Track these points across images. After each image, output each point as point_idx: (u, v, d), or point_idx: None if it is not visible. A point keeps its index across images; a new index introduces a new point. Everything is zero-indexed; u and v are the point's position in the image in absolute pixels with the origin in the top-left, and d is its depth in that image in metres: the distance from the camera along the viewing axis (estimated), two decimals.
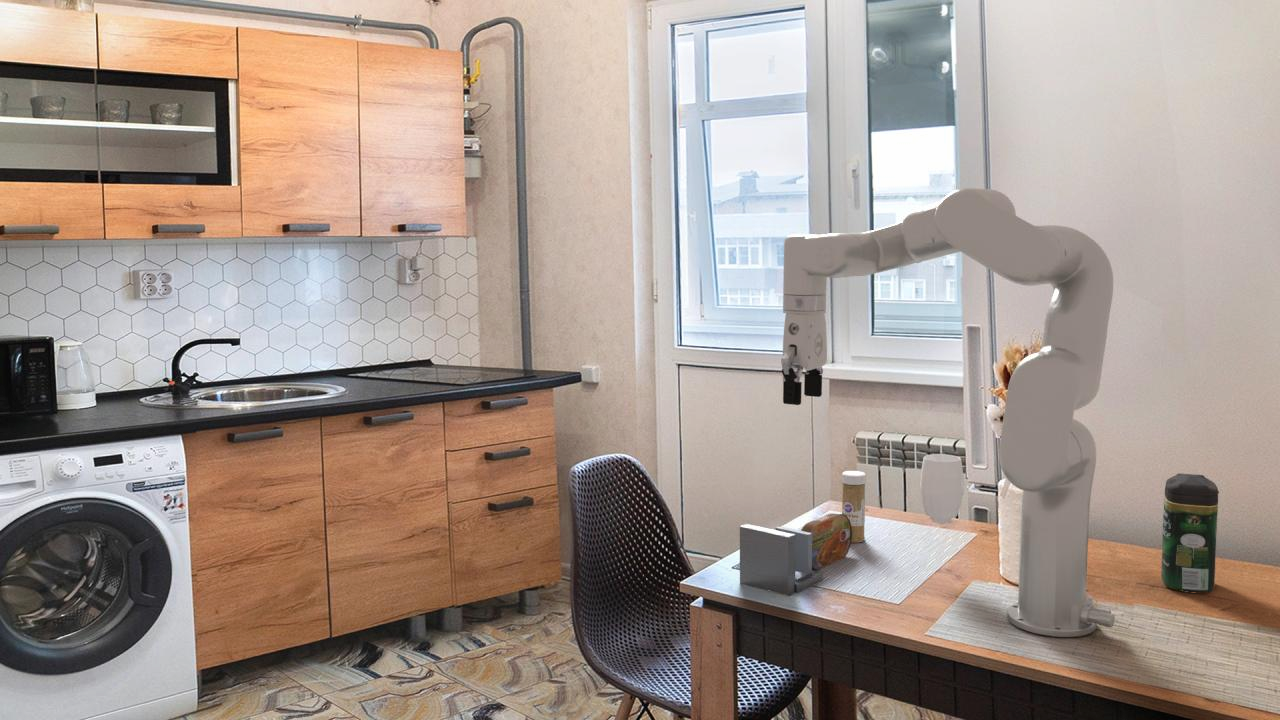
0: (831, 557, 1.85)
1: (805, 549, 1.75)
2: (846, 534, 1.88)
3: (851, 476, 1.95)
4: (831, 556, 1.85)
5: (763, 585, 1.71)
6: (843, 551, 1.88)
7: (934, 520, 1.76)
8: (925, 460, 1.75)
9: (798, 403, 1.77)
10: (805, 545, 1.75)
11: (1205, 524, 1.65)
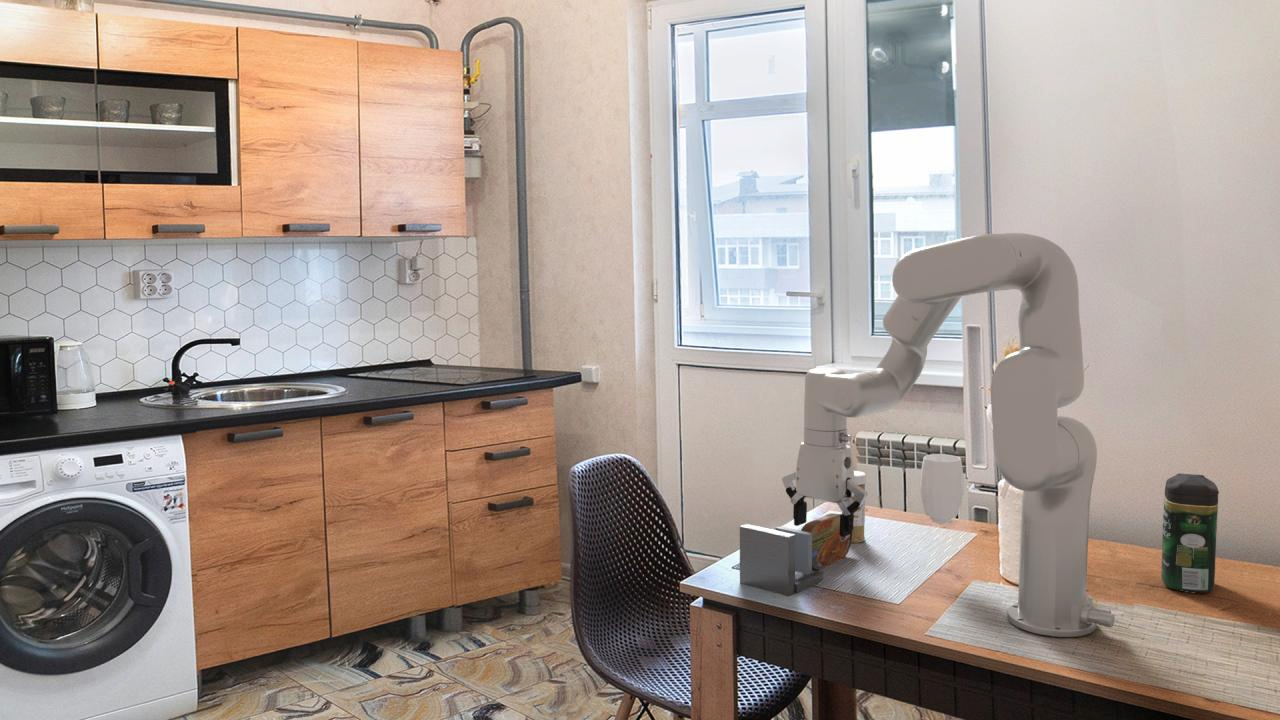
0: (831, 557, 1.85)
1: (805, 549, 1.75)
2: None
3: None
4: (831, 556, 1.85)
5: (763, 585, 1.71)
6: (843, 551, 1.88)
7: (934, 520, 1.76)
8: (925, 460, 1.75)
9: (851, 532, 1.83)
10: (805, 545, 1.75)
11: (1205, 524, 1.65)
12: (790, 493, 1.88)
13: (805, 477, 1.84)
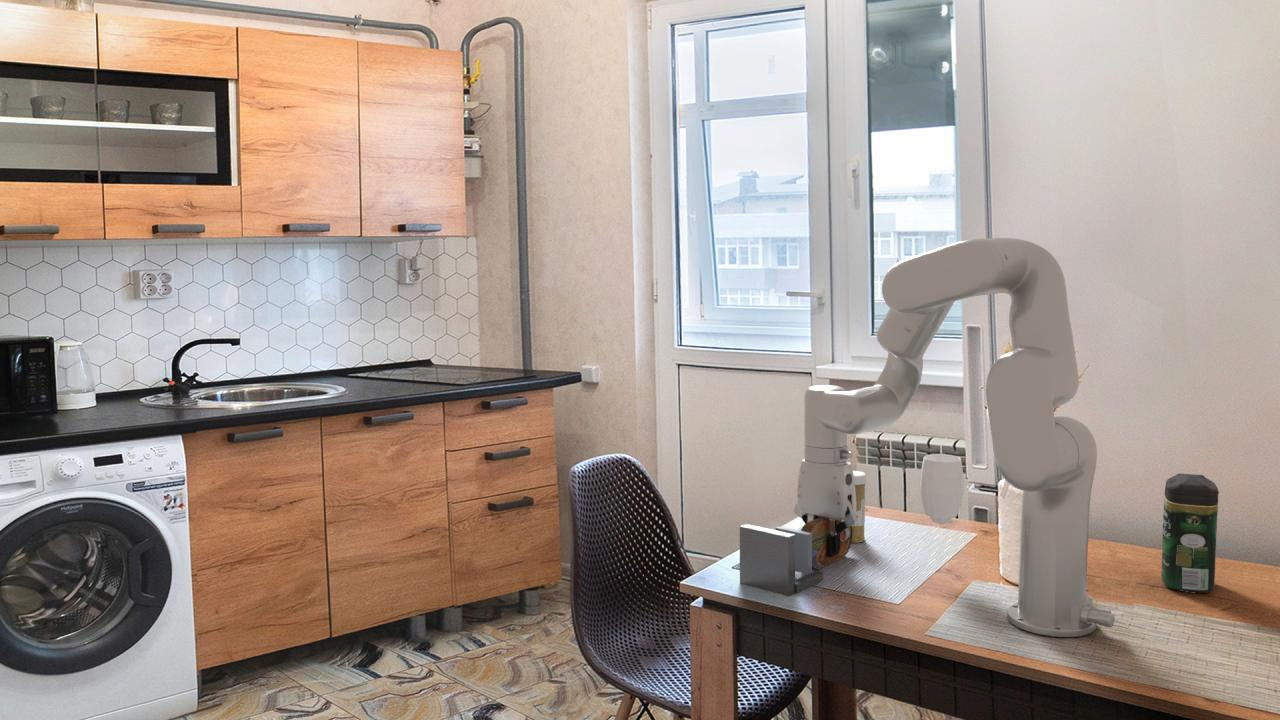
0: (830, 557, 1.85)
1: (805, 549, 1.75)
2: (846, 534, 1.88)
3: None
4: None
5: (763, 585, 1.71)
6: (843, 551, 1.88)
7: (934, 520, 1.76)
8: (925, 460, 1.75)
9: (838, 552, 1.85)
10: (805, 545, 1.75)
11: (1205, 524, 1.65)
12: (806, 520, 1.86)
13: (806, 494, 1.84)
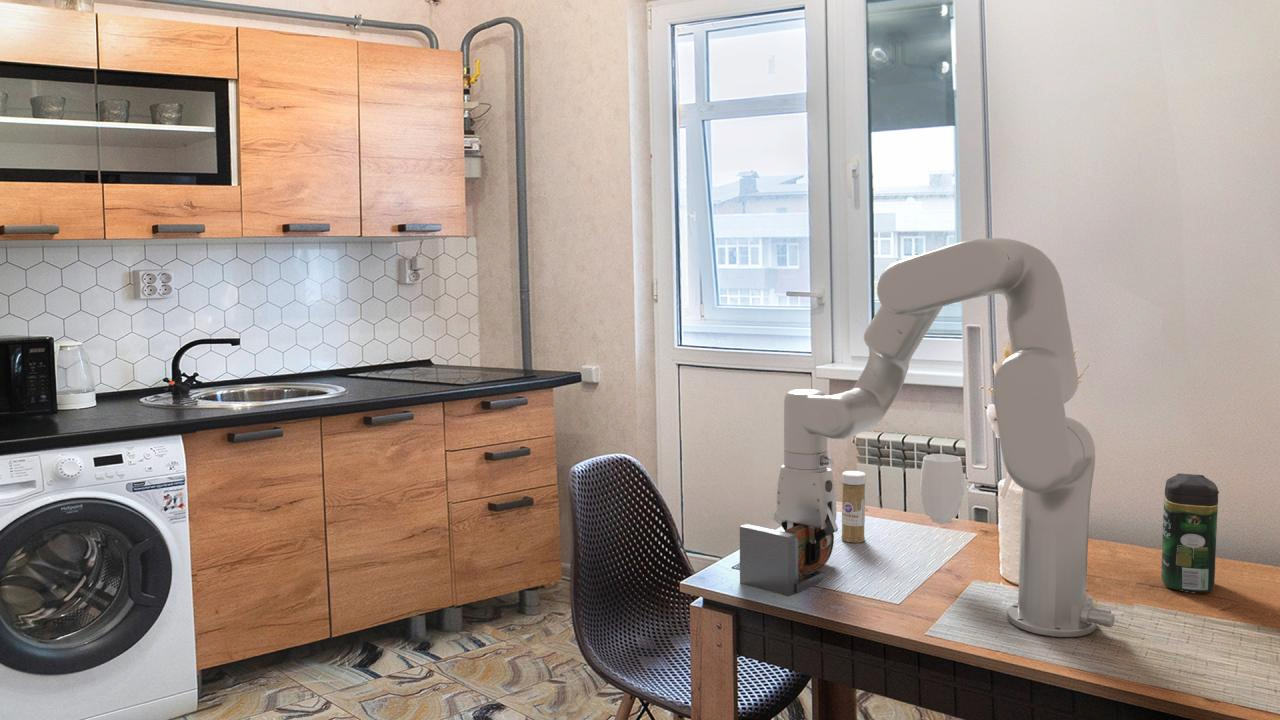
0: None
1: None
2: (827, 541, 1.84)
3: (851, 476, 1.95)
4: None
5: (763, 585, 1.71)
6: (823, 558, 1.84)
7: (934, 520, 1.76)
8: (925, 460, 1.75)
9: (818, 560, 1.80)
10: None
11: (1205, 524, 1.65)
12: (786, 527, 1.82)
13: (785, 500, 1.79)
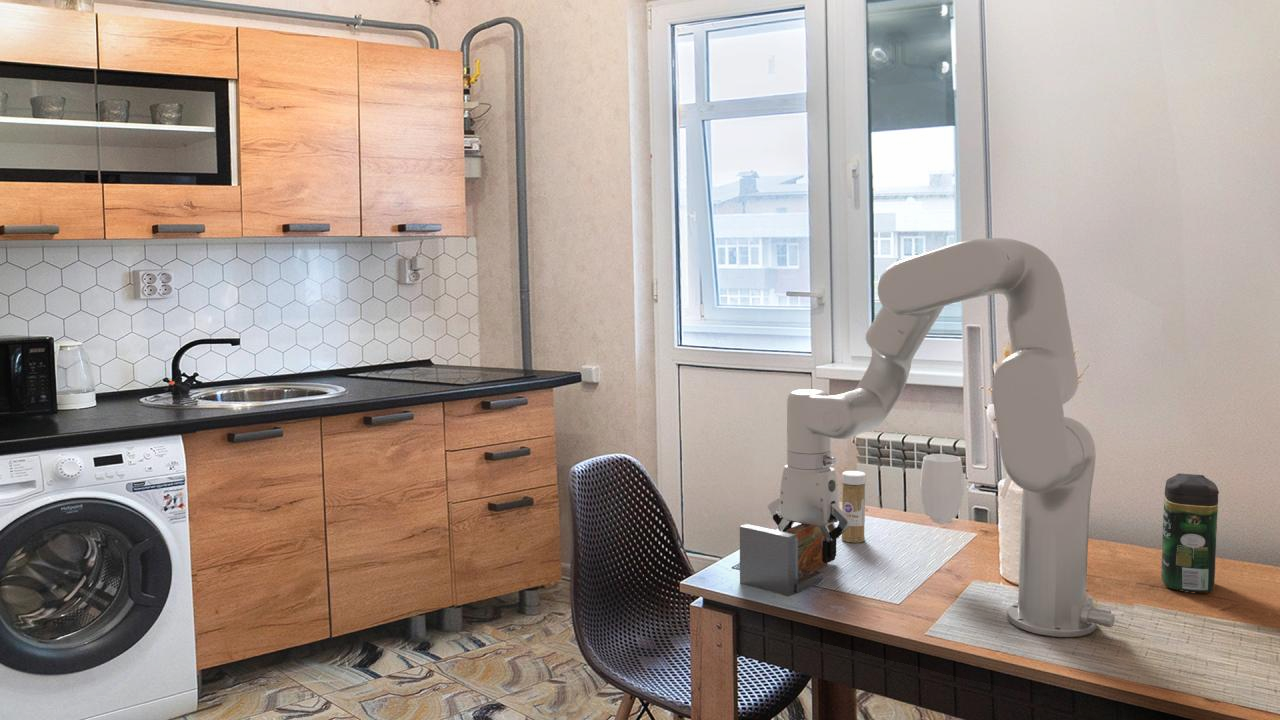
0: (812, 564, 1.81)
1: None
2: None
3: (851, 476, 1.95)
4: (813, 563, 1.81)
5: (763, 585, 1.71)
6: None
7: (934, 520, 1.76)
8: (925, 460, 1.75)
9: (834, 558, 1.79)
10: None
11: (1205, 524, 1.65)
12: (777, 520, 1.84)
13: (789, 500, 1.80)
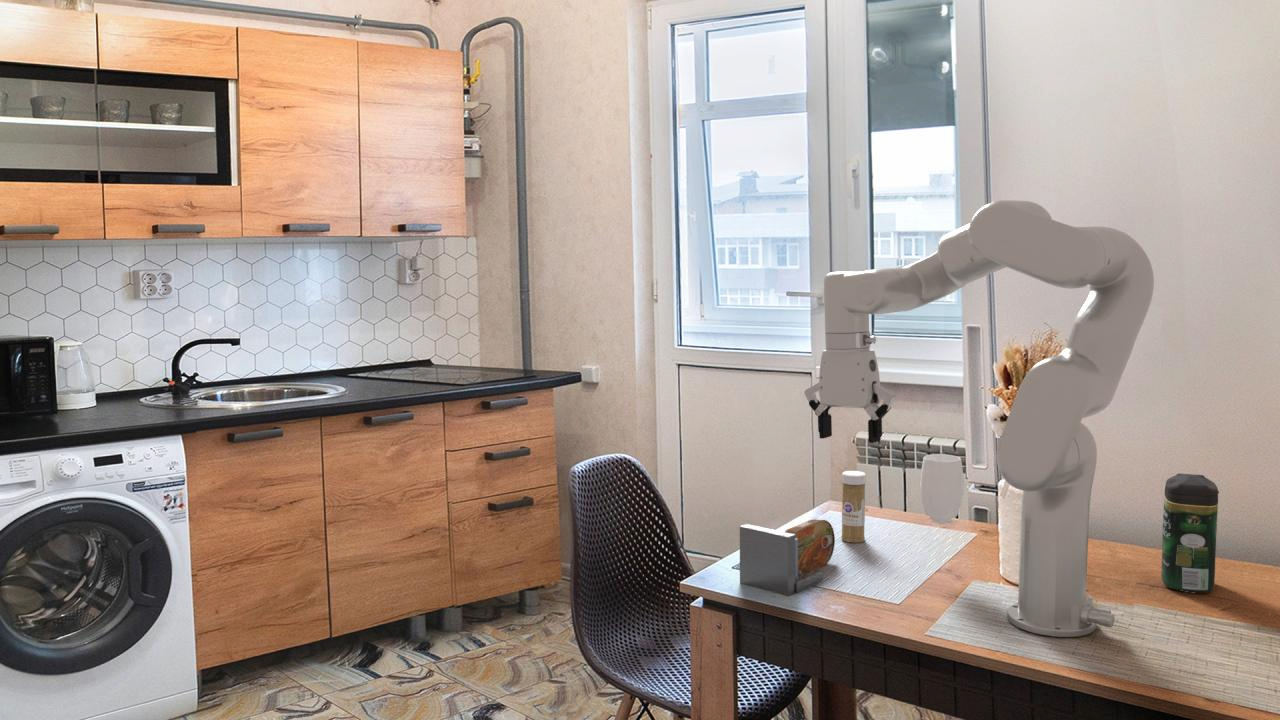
0: (812, 564, 1.81)
1: None
2: (828, 541, 1.85)
3: (851, 476, 1.95)
4: (813, 563, 1.81)
5: (763, 585, 1.71)
6: (825, 558, 1.84)
7: (934, 520, 1.76)
8: (925, 460, 1.75)
9: (879, 439, 1.76)
10: None
11: (1205, 524, 1.65)
12: (814, 405, 1.82)
13: (829, 385, 1.78)
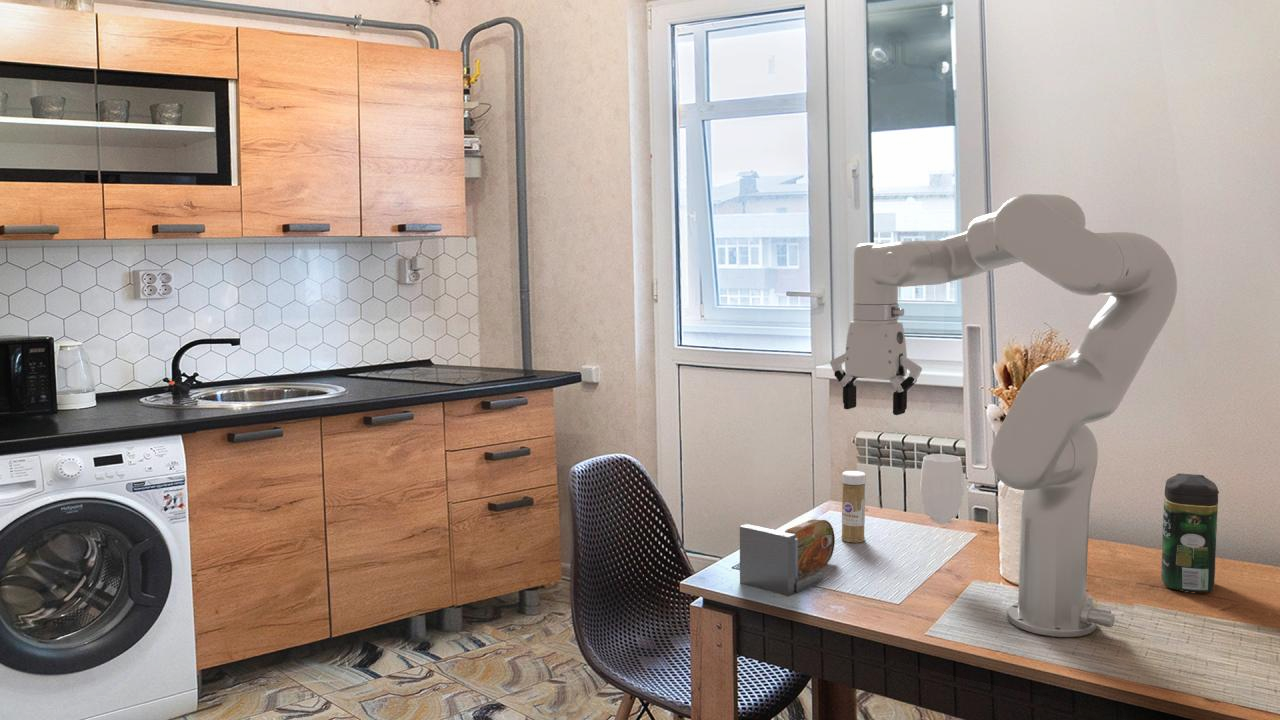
0: (812, 564, 1.81)
1: None
2: (828, 541, 1.85)
3: (851, 476, 1.95)
4: (813, 563, 1.81)
5: (763, 585, 1.71)
6: (825, 558, 1.84)
7: (934, 520, 1.76)
8: (925, 460, 1.75)
9: (904, 411, 1.76)
10: None
11: (1205, 524, 1.65)
12: (839, 376, 1.82)
13: (855, 356, 1.78)
